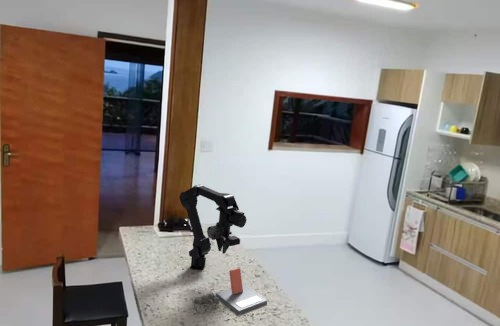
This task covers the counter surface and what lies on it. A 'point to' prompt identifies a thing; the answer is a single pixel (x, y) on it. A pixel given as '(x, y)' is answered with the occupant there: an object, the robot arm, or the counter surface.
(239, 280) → the lever
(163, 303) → the counter surface
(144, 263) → the counter surface
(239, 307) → the base
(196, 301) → the grey lumpy stone piece
